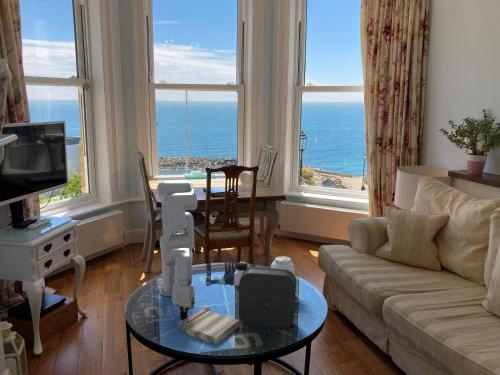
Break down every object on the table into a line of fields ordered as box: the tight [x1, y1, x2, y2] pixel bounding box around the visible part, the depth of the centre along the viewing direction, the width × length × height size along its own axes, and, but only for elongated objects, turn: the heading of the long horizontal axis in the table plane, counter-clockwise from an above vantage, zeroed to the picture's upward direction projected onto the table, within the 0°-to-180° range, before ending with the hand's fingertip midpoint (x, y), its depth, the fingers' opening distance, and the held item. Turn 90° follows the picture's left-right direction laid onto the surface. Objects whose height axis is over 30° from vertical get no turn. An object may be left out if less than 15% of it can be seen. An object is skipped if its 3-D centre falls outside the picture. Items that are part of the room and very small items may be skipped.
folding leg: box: [184, 305, 211, 324], centre depth 201 cm, size 16×3×4 cm, turn 151°
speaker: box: [238, 266, 297, 329], centre depth 197 cm, size 25×9×25 cm, turn 82°
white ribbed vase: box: [270, 255, 296, 275], centre depth 230 cm, size 12×12×20 cm
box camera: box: [233, 261, 248, 287], centre depth 243 cm, size 7×7×12 cm
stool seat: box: [178, 310, 240, 345], centre depth 193 cm, size 21×18×4 cm
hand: (183, 318), depth 200 cm, fingers closed
